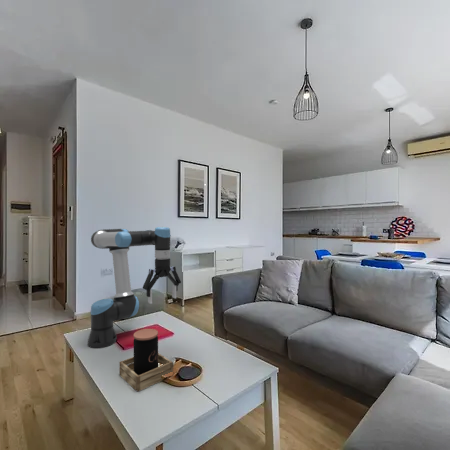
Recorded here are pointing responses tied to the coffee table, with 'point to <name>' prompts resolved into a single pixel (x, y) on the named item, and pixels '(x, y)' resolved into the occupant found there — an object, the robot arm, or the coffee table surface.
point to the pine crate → (144, 379)
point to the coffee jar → (145, 350)
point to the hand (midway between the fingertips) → (162, 300)
